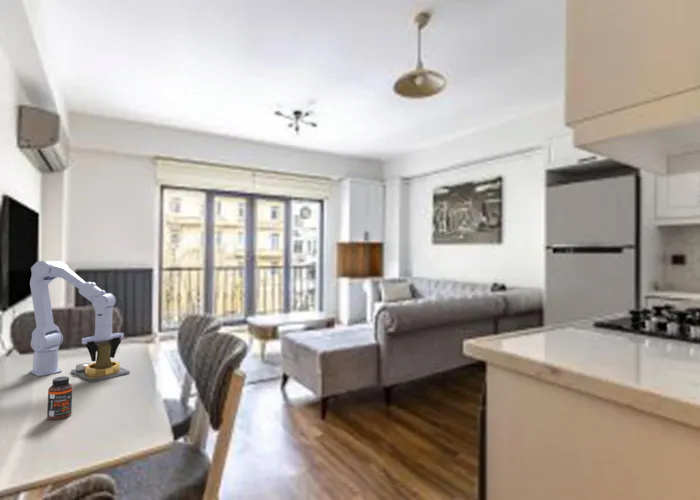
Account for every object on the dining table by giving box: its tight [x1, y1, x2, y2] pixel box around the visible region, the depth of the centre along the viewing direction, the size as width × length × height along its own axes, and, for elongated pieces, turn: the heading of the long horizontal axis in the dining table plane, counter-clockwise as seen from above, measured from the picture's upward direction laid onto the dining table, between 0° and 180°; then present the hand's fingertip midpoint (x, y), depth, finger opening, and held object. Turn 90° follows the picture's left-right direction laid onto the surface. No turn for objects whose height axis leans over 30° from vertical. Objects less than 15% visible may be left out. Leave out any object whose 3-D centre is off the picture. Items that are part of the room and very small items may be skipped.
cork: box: [95, 342, 112, 369], centre depth 159 cm, size 6×6×11 cm
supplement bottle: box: [46, 375, 73, 420], centre depth 120 cm, size 6×6×11 cm
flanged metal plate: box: [70, 360, 131, 383], centre depth 160 cm, size 18×14×4 cm
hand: (103, 359), depth 159 cm, fingers open, 6 cm apart
